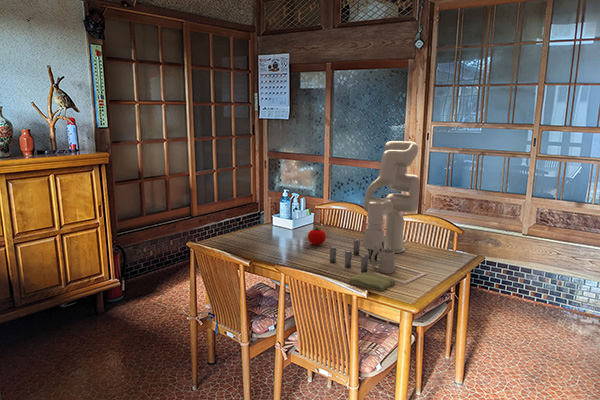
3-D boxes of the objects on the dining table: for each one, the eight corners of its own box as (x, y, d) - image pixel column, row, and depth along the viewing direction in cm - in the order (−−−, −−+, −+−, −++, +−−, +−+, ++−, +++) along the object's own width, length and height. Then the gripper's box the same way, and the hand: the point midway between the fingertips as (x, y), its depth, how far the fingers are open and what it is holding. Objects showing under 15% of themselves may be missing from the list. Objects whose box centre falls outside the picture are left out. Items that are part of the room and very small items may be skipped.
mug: (393, 274, 218) (395, 249, 215) (369, 271, 221) (369, 247, 219) (395, 269, 225) (397, 245, 222) (371, 266, 228) (372, 243, 226)
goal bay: (395, 265, 230) (395, 264, 230) (426, 274, 217) (426, 273, 217) (373, 274, 217) (373, 273, 217) (405, 284, 205) (405, 283, 205)
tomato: (322, 248, 258) (323, 230, 256) (305, 246, 262) (305, 229, 260) (327, 243, 268) (328, 226, 266) (310, 241, 271) (311, 224, 269)
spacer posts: (355, 252, 250) (356, 238, 248) (391, 263, 234) (392, 247, 232) (328, 262, 235) (328, 246, 233) (364, 273, 218) (365, 257, 217)
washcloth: (362, 275, 217) (362, 269, 216) (396, 284, 206) (396, 277, 205) (347, 283, 207) (347, 276, 206) (381, 293, 196) (382, 286, 195)
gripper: (358, 224, 227) (356, 260, 230) (382, 230, 216) (381, 267, 220) (367, 222, 232) (366, 257, 235) (392, 227, 221) (390, 264, 225)
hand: (373, 262), depth 228 cm, fingers closed
